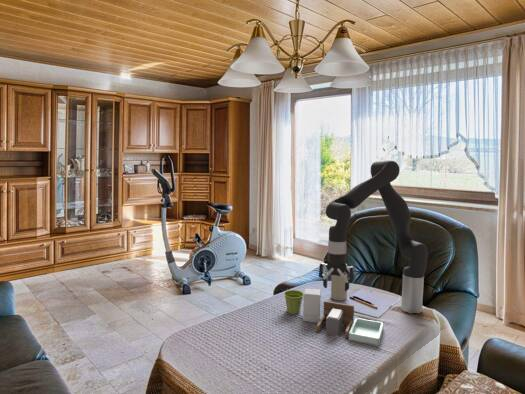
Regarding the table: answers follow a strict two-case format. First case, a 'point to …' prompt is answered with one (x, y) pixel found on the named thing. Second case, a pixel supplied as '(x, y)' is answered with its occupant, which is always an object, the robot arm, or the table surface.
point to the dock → (347, 315)
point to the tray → (366, 331)
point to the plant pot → (293, 300)
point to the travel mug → (338, 287)
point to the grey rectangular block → (334, 322)
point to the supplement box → (311, 305)
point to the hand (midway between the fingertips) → (335, 289)
